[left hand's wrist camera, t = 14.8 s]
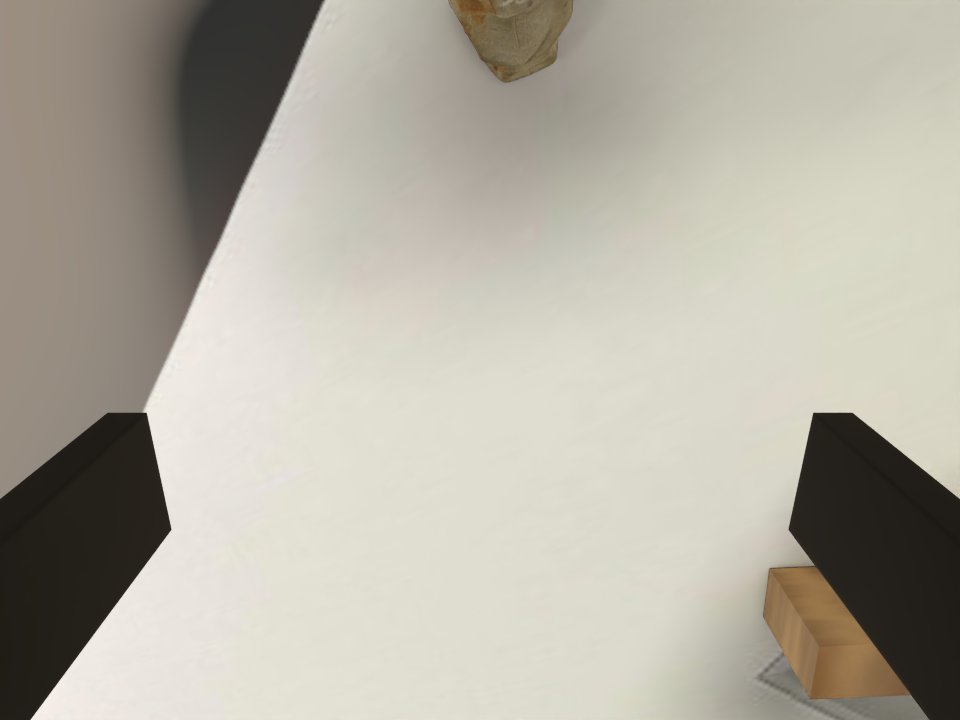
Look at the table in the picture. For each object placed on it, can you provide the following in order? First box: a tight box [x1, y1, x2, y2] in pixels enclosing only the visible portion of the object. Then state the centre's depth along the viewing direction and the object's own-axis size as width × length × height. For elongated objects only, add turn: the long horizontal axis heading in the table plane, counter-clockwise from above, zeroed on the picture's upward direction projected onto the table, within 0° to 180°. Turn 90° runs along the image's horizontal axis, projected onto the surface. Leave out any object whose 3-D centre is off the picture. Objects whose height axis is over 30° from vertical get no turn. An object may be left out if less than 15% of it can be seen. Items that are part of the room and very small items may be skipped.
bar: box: [763, 567, 911, 699], centre depth 49 cm, size 26×5×8 cm, turn 93°
